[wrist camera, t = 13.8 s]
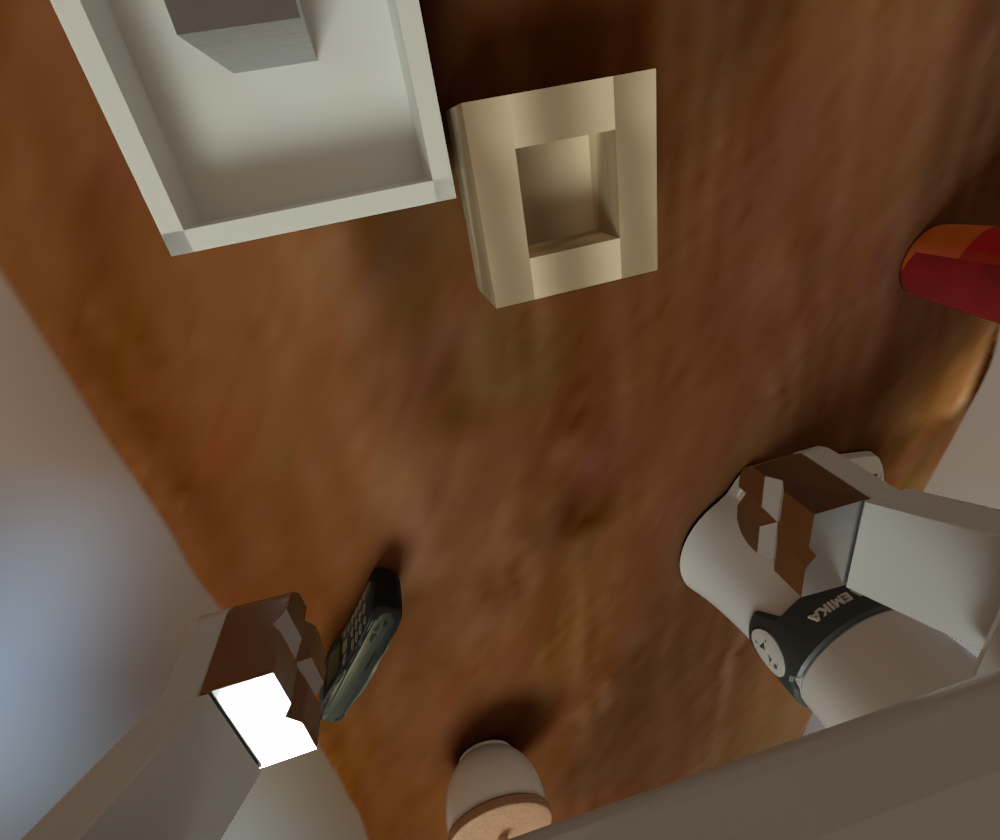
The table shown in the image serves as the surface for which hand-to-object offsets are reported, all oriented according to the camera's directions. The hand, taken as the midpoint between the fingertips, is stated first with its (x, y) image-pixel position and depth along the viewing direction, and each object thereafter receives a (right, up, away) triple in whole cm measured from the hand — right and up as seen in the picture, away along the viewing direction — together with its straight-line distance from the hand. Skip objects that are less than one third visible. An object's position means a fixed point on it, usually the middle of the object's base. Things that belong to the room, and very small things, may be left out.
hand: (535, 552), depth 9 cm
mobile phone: (-13, -16, +35) cm, 41 cm away
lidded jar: (-2, -36, +48) cm, 60 cm away
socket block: (+2, +17, +22) cm, 28 cm away
